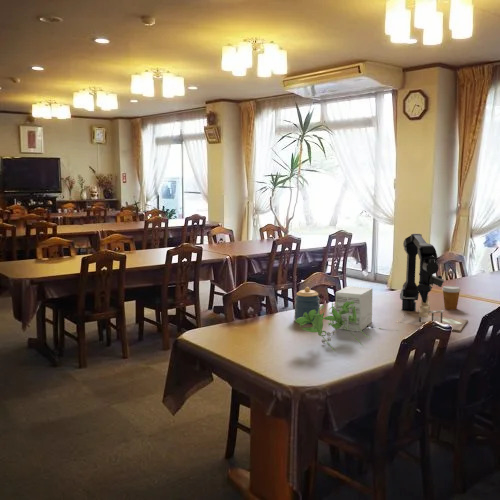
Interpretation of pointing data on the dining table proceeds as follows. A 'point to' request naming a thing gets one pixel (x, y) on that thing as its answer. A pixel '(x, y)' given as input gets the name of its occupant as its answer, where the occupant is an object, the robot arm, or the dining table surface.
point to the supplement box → (361, 303)
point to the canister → (306, 302)
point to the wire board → (416, 320)
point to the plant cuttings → (335, 317)
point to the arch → (424, 308)
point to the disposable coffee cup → (451, 297)
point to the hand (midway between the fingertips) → (424, 302)
